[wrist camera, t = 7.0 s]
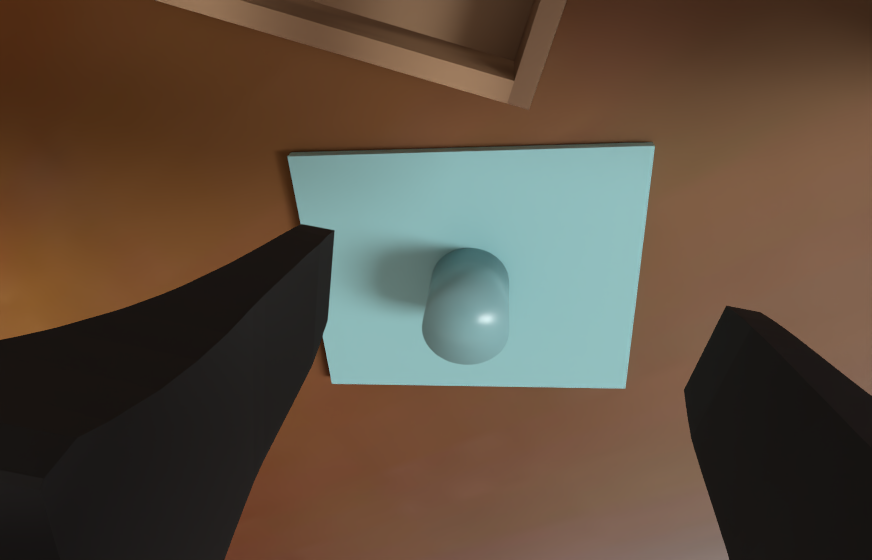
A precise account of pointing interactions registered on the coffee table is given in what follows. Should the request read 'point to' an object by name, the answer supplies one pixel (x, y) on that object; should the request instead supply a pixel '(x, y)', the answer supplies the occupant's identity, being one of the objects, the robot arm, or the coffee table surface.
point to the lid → (480, 262)
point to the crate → (416, 36)
